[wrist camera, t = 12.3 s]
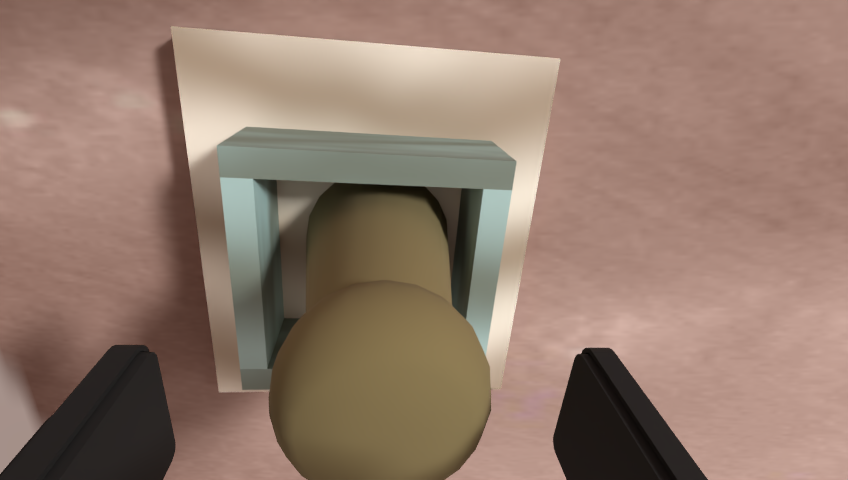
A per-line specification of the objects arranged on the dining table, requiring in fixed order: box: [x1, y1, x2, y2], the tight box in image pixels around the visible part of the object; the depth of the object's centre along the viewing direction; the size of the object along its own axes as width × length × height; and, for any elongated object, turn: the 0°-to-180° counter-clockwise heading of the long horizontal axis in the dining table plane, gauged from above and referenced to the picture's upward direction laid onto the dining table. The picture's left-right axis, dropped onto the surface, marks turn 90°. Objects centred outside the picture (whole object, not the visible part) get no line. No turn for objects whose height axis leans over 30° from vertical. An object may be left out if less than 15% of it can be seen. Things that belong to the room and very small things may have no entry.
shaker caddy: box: [171, 26, 560, 392], centre depth 18 cm, size 16×14×5 cm
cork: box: [269, 182, 491, 480], centre depth 14 cm, size 6×6×11 cm
